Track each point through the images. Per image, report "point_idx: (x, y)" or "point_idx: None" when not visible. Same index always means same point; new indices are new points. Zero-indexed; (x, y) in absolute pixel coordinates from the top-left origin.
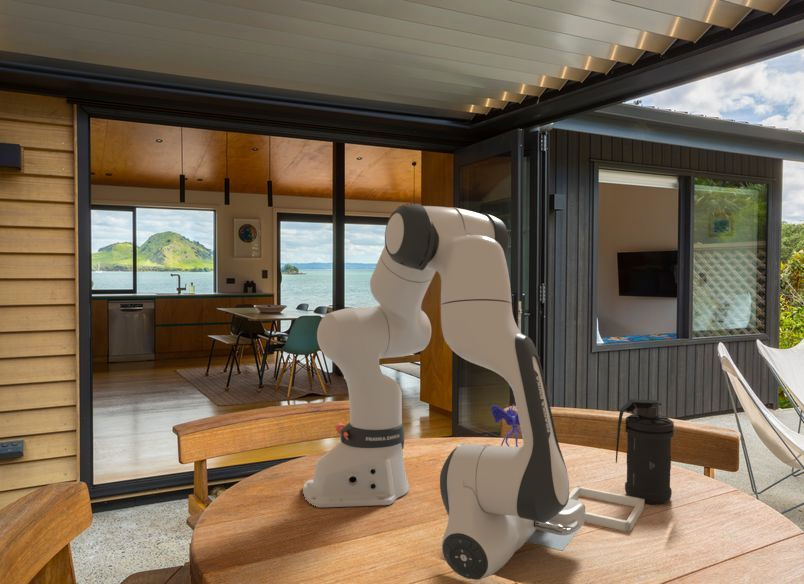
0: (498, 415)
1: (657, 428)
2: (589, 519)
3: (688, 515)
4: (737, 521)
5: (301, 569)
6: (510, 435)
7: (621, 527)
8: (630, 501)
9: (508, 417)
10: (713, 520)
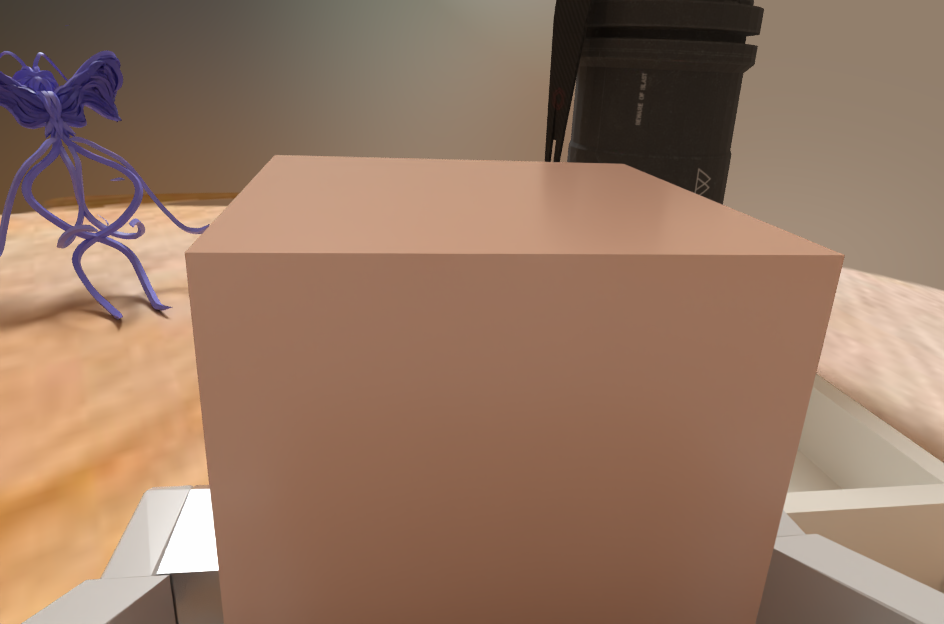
0: None
1: (747, 15)
2: None
3: None
4: (925, 327)
5: None
6: (44, 167)
7: (935, 536)
8: None
9: (22, 94)
10: (888, 341)
